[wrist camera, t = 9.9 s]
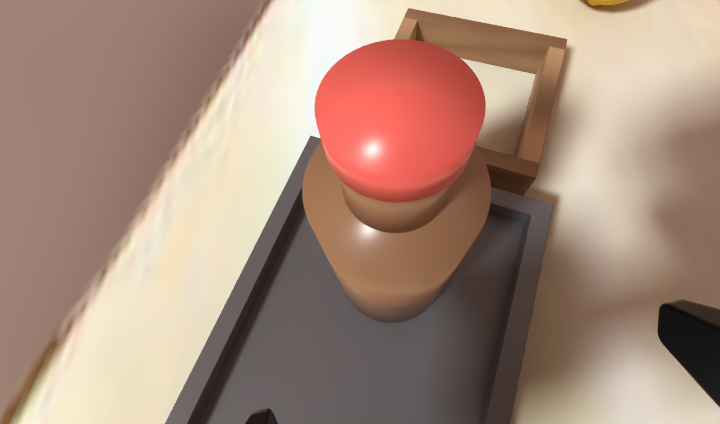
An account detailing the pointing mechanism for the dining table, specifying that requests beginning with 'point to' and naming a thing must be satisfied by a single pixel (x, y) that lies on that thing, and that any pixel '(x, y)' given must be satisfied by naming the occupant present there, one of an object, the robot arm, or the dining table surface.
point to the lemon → (605, 2)
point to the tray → (369, 331)
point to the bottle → (397, 174)
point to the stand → (508, 52)
